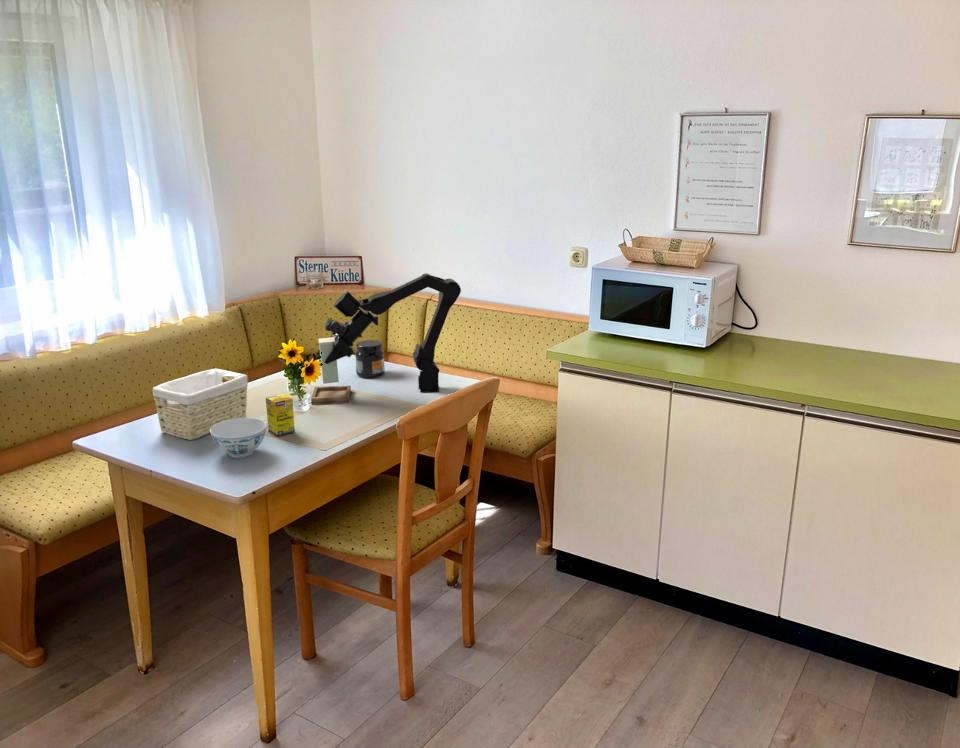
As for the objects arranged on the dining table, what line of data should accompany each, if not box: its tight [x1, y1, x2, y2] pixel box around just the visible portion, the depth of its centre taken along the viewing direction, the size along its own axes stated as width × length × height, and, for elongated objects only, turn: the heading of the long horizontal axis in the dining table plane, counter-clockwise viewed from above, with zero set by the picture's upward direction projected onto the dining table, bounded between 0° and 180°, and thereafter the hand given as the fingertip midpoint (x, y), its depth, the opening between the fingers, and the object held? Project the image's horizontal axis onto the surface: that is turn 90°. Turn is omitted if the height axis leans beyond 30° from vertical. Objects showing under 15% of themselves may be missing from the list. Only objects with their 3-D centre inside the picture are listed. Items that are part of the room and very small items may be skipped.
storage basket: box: [152, 368, 249, 441], centre depth 239 cm, size 24×16×15 cm
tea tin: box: [318, 336, 340, 385], centre depth 261 cm, size 5×5×14 cm
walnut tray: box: [310, 385, 352, 405], centre depth 265 cm, size 12×12×2 cm
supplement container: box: [354, 339, 386, 379], centre depth 287 cm, size 10×10×12 cm
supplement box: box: [265, 393, 296, 438], centre depth 234 cm, size 6×6×11 cm
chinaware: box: [209, 417, 267, 458], centre depth 220 cm, size 15×15×8 cm
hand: (325, 360), depth 261 cm, fingers closed on tea tin, 5 cm apart
